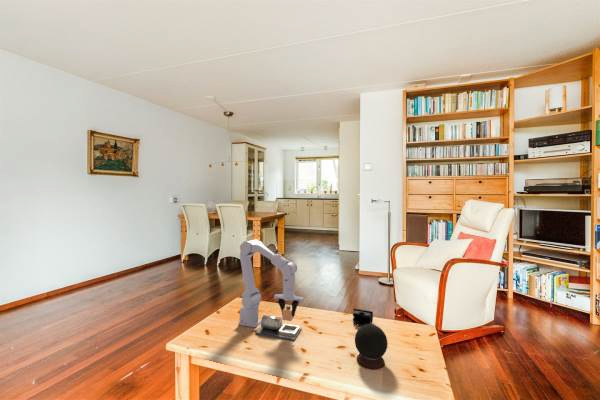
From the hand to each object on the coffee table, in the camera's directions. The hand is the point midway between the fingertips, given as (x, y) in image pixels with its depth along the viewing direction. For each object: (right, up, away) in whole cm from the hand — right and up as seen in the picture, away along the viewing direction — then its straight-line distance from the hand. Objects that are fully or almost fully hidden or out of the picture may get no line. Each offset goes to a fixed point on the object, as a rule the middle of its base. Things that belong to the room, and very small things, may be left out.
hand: (288, 314), depth 141 cm
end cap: (+39, -10, +14) cm, 43 cm away
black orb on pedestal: (+35, -11, -22) cm, 43 cm away
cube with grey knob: (0, -2, 0) cm, 2 cm away
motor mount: (-5, -9, +2) cm, 11 cm away
